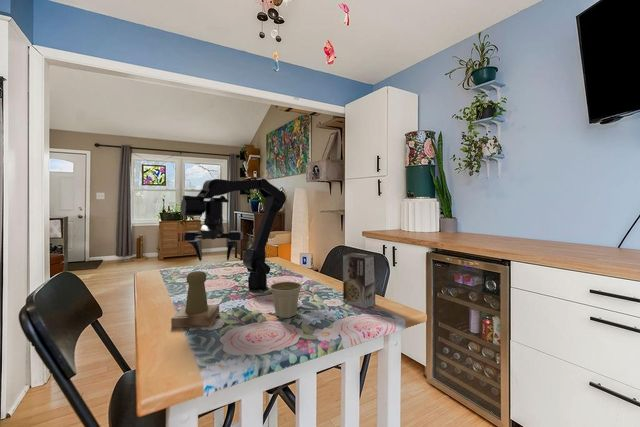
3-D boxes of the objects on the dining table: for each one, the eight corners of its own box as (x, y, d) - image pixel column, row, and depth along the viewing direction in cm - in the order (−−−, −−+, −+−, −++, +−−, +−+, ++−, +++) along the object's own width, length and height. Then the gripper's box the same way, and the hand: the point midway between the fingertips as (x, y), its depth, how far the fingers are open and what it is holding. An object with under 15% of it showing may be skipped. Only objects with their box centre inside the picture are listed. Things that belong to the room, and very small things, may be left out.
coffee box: (376, 304, 99) (376, 255, 99) (364, 309, 94) (365, 257, 94) (353, 298, 105) (354, 252, 105) (342, 302, 101) (342, 254, 100)
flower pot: (275, 323, 83) (275, 292, 83) (265, 311, 92) (265, 283, 91) (306, 317, 88) (306, 287, 87) (294, 307, 96) (294, 280, 96)
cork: (205, 313, 83) (204, 274, 82) (182, 314, 82) (181, 274, 82) (210, 306, 89) (210, 269, 88) (188, 307, 88) (188, 269, 88)
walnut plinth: (219, 312, 91) (219, 304, 91) (210, 326, 81) (210, 316, 81) (184, 313, 90) (184, 305, 90) (171, 327, 80) (171, 317, 80)
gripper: (177, 216, 95) (177, 265, 96) (237, 216, 97) (237, 264, 98) (189, 215, 106) (189, 259, 107) (242, 215, 108) (243, 258, 109)
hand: (214, 260), depth 105 cm, fingers open, 9 cm apart
